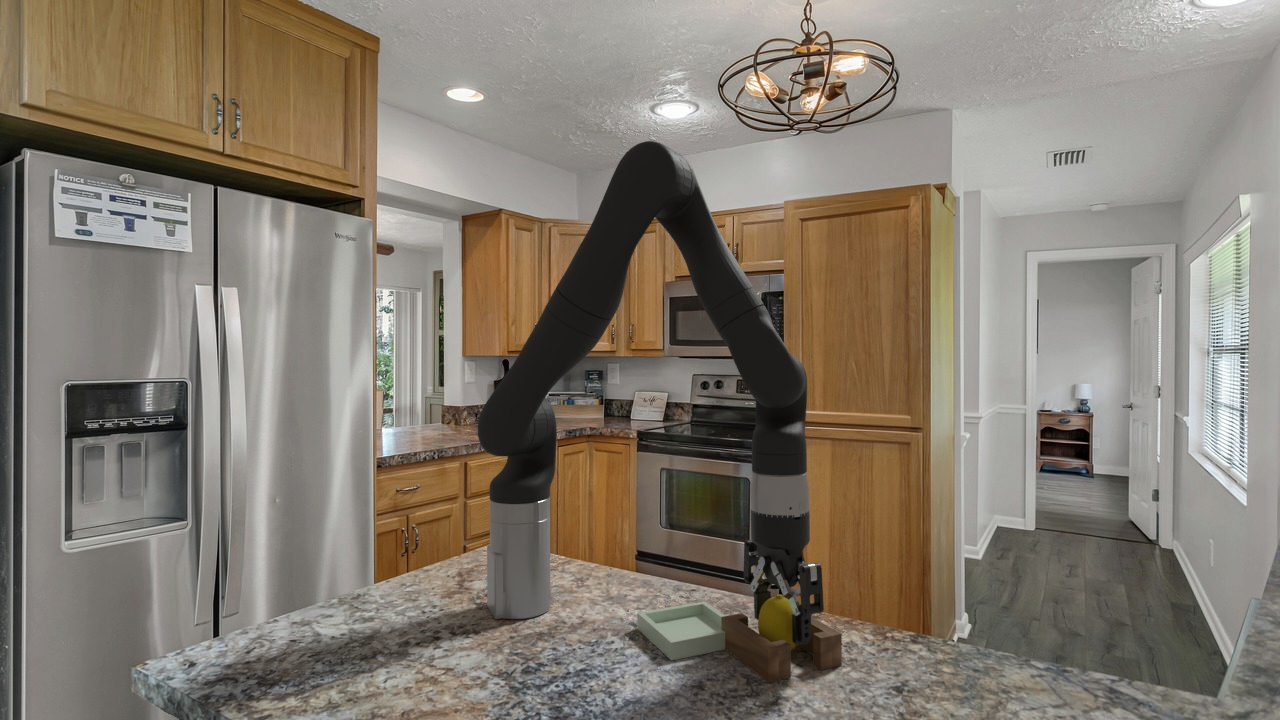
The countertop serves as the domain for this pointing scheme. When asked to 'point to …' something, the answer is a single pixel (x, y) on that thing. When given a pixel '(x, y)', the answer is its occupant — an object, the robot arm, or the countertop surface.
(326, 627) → the countertop surface
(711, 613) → the dish
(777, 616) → the lemon
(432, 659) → the countertop surface
